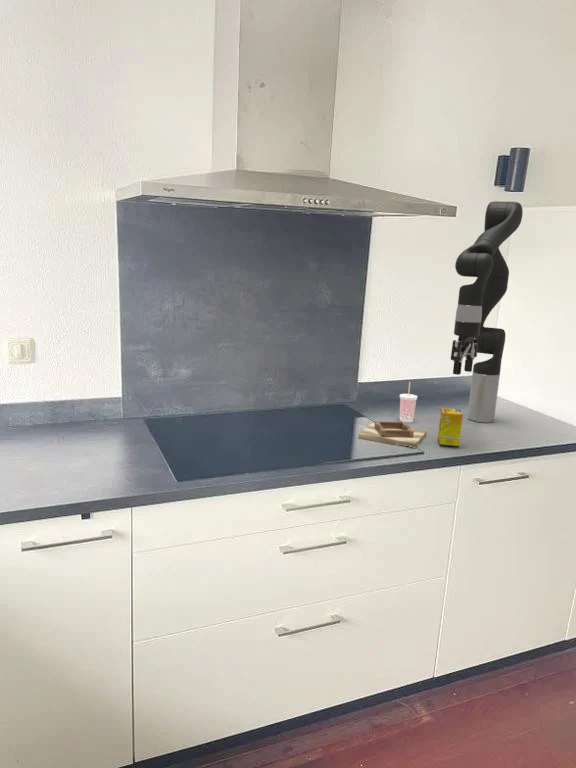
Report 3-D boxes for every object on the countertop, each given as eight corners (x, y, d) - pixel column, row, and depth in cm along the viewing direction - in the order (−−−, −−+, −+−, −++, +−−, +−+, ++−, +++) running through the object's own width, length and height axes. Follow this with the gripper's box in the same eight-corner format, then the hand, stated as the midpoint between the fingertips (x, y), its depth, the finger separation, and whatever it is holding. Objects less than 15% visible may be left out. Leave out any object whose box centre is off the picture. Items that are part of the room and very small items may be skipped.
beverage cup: (413, 424, 203) (417, 384, 200) (396, 421, 205) (399, 382, 202) (416, 419, 209) (419, 381, 206) (398, 417, 211) (402, 379, 208)
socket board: (372, 426, 199) (373, 416, 198) (426, 435, 191) (427, 425, 190) (358, 438, 185) (359, 427, 184) (415, 448, 178) (416, 437, 177)
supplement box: (437, 440, 186) (440, 407, 184) (456, 442, 186) (460, 409, 183) (439, 446, 181) (442, 412, 178) (459, 448, 180) (463, 414, 177)
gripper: (465, 318, 186) (460, 369, 189) (446, 319, 175) (440, 373, 178) (489, 320, 181) (482, 372, 184) (470, 322, 171) (464, 377, 174)
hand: (462, 372), depth 181 cm, fingers open, 8 cm apart
